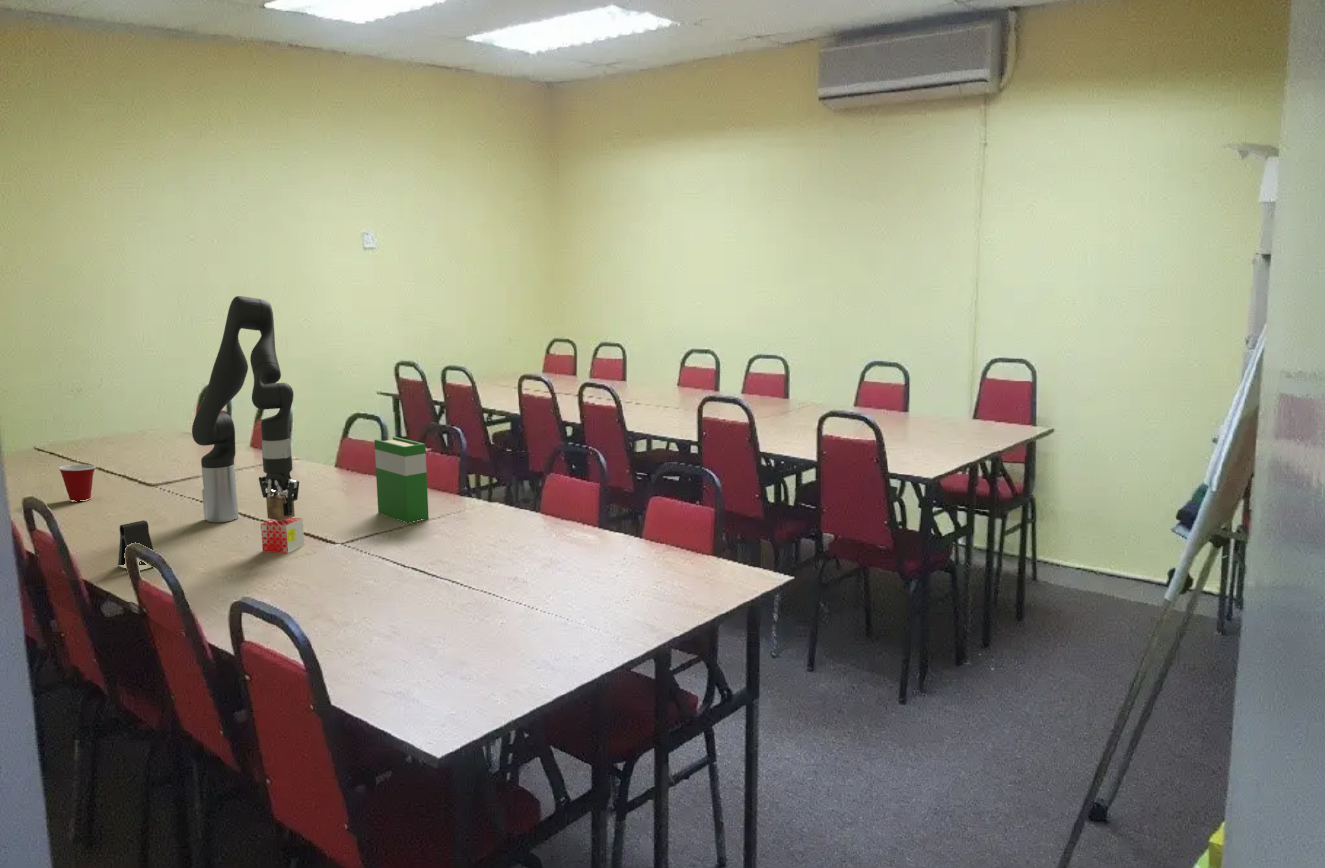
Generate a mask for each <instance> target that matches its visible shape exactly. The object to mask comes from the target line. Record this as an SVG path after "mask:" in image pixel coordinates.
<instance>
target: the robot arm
mask: <svg viewBox="0 0 1325 868" xmlns="http://www.w3.org/2000/svg"><path fill="white" fill-rule="evenodd" d="M274 323H275V321H274V313H273V308H272V305H271V303H270V302H269V301H268V300H266V299H265V300H264V299H262V298H257V297H250V296H242V295H237V296H235V297H233V299H232V300H231V302H230V304H229V308H228V310H227V315H226V321H225V325H224V330H223V335H222V339H221V343H220V346H219V349H218V351H217V355H216V358H215V360H214V365H213V366H212V371H211V373H210V378H209V382H208V383H207V387H206V391H205V393H204V397H203V399H202V400H201V404H200V406H199V408H198V410H197V412H196V414H195V416H194V420H193V422H192V427H191V434H192V435H191V436H192V439H193V441H194V442H195V443H196V444H197V445H199V446H203V447H206V446H212V445H213V448H211V450H210V451H209V452H207V453H206V454H204V455H203V456H202V457H201V460H200V462H201V474H202V475H201V476H202V485H203V486H202V487H203V489H202V490H201V492H202V493H201V494H202V495H201V496H202V501H203V502H202V506H203V515H204V516H203V517H204V520H207V521H206V522H208V523H224V522H230V521H234V519H235V520H237V519H238V518H239V505H238V494H237V483H236V482H237V480H236V469H235V456H236V428H235V423H234V420H233V418H232V417H231V416H230V415H229V414H228V413H225V412H224V413H222V410H223V409H224V408H225V406H227V405H228V404H229V402H231V401H232V400H233V399H234V398H235V397H236V396H237V395H238V393H239V392H240V390H241V389H242V388H243V385H244V384H245V381H246V378H247V374H248V370H249V364H248V360H247V357H246V356H245V353H244V351H243V349H242V346H241V343H240V340H239V334H240V331H241V329H244V330H250V331H259V333H260V338H259V339H258V341H257V343H256V344H255V345H254V346H253V349H252V350H251V352H250V357H249V358H250V367H251V370H252V375H253V387H252V392H251V402H252V404H253V406H254V407H255V408H256V409H258V410H278V409H279V410H278V411H277V413H276V414H274V415H272V416H269V417H265V418H263V419H262V420H261V422H260V429H261V441H262V442H261V454H262V468H263V473H265V474H266V475H262V476H259V477H258V482H259V486H260V490H261V495H262V497H263V498H264V499H266V498H267V497H271V496H274V495H278V494H279V495H280V496H282V499H283V502H284V503H283V507H284V516H290V515H292V502H293V501H294V502H295V501H297V500H298V498H299V489H300V488H299V487H300V481H299V480H298V479H297V480H294V479H292V477H291V472H292V471H293V457H292V446H291V441H290V440H291V439H290V429H289V425H290V423H289V421H290V416H291V415H290V414H291V409H292V405H293V402H294V390H293V387H292V386H291V385H290V384H289V383H288V382H279V381H280V380H281V378H282V377H281V376H282V373H281V369H280V365H279V361H278V357H277V352H276V341H275V340H276V339H275V325H274ZM286 495H287V496H288V498H286ZM292 496H293V497H292Z"/></svg>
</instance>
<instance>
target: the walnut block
mask: <svg viewBox="0 0 1325 868" xmlns="http://www.w3.org/2000/svg"><path fill="white" fill-rule="evenodd" d="M292 497H293V495H292ZM286 498H288V496H287V494H286ZM265 499H266V513H267V514H266V515H267V519H269V520H271V519H273V520H279V521H281V520H285V519H288V518H296V514H295V513H296V512H295V501H293V502H292V515H290V516H284V507H283V503H284V502H283V499H282V496H280V495H279V493H278V495H274V496H271V497H267V498H265Z"/></svg>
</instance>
